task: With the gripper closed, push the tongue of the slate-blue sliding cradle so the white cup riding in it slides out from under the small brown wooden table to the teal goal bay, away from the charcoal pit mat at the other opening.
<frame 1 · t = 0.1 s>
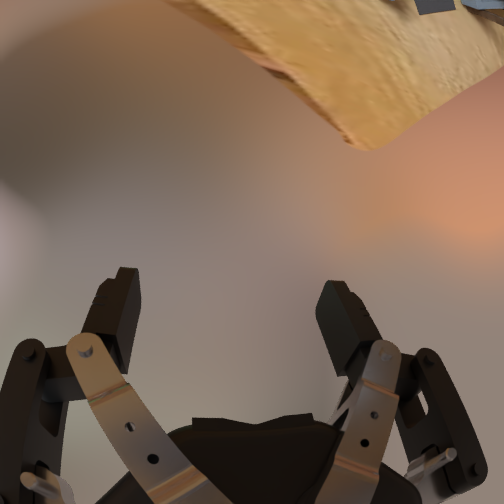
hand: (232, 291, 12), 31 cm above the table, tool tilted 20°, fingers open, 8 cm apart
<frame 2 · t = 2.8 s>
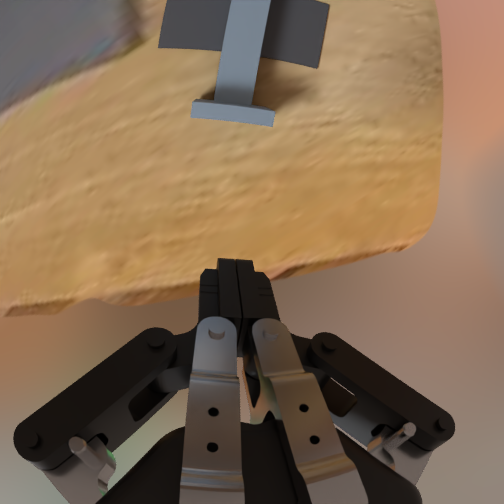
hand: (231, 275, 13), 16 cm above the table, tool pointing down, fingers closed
pit mat: (245, 18, 18), on the table
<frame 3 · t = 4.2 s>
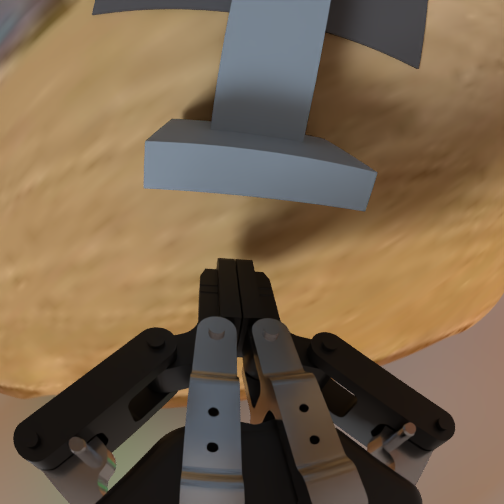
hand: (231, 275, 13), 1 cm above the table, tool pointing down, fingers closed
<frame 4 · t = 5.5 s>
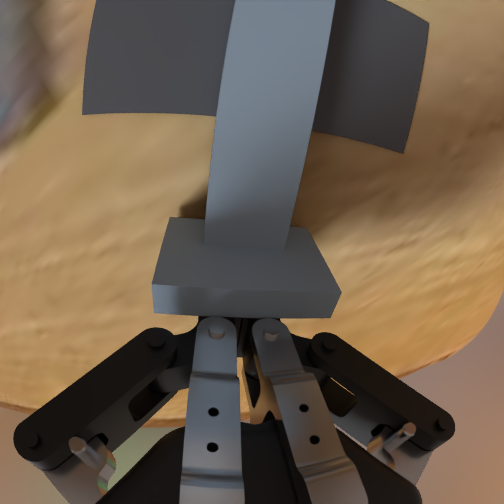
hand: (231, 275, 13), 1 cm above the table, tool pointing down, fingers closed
pit mat: (269, 37, 9), on the table
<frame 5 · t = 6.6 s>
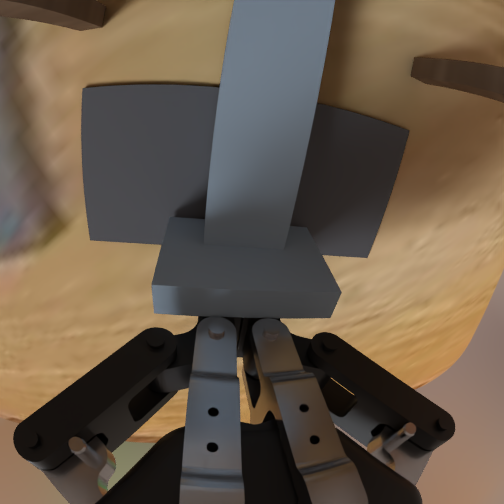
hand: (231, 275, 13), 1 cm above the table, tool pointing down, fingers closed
pit mat: (245, 175, 12), on the table
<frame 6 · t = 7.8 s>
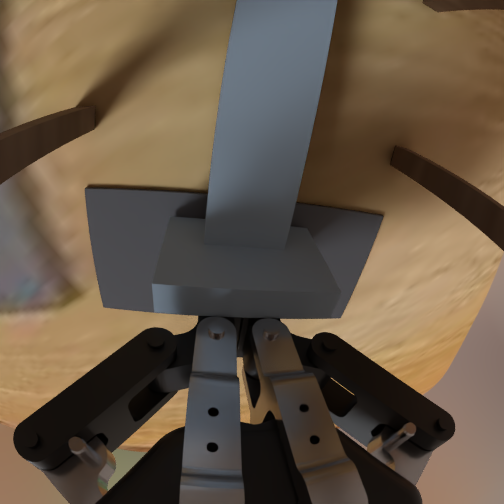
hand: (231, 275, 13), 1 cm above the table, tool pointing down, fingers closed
small brown wooden table: (273, 22, 8), on the table
pit mat: (233, 264, 14), on the table
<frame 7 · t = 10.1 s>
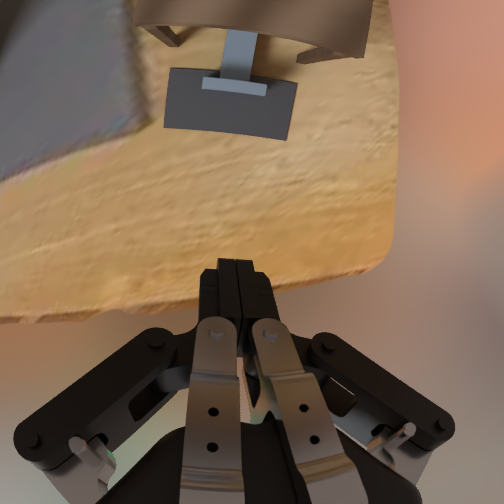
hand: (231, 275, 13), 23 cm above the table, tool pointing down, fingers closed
small brown wooden table: (245, 13, 23), on the table
pit mat: (229, 102, 29), on the table
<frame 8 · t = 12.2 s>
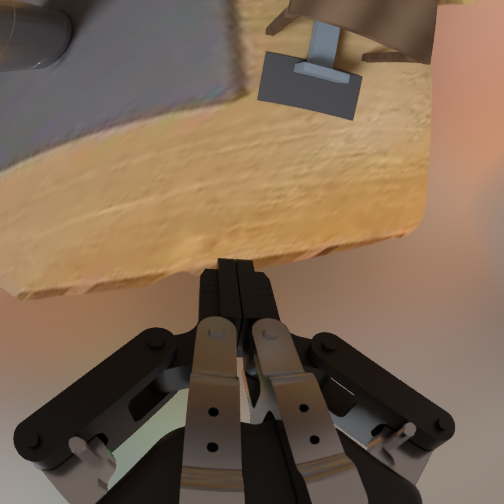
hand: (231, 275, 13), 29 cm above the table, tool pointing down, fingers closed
small brown wooden table: (325, 17, 28), on the table
pit mat: (312, 86, 34), on the table
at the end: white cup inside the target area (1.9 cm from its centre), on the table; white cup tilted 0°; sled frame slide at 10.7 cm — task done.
